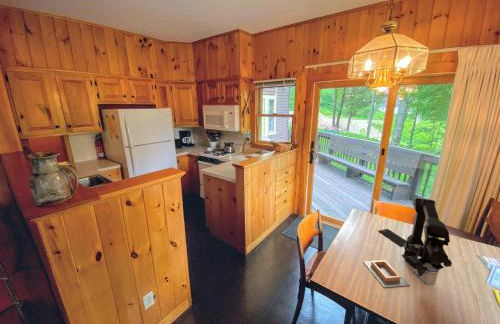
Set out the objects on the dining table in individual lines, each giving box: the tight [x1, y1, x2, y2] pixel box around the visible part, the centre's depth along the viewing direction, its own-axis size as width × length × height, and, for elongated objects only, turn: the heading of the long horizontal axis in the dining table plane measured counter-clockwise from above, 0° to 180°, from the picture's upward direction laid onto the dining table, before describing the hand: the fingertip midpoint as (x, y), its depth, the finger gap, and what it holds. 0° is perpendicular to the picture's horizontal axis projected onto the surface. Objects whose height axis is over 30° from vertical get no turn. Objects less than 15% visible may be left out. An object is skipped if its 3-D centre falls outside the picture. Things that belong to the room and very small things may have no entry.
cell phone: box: [378, 228, 407, 248], centre depth 143 cm, size 9×18×1 cm, turn 15°
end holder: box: [362, 259, 411, 289], centre depth 113 cm, size 14×18×3 cm
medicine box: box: [412, 264, 439, 286], centre depth 100 cm, size 8×4×9 cm, turn 4°
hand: (424, 275), depth 100 cm, fingers closed on medicine box, 4 cm apart
